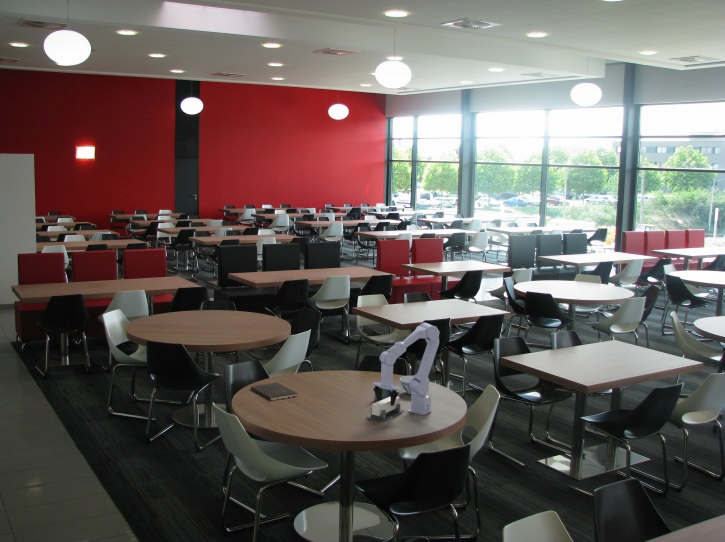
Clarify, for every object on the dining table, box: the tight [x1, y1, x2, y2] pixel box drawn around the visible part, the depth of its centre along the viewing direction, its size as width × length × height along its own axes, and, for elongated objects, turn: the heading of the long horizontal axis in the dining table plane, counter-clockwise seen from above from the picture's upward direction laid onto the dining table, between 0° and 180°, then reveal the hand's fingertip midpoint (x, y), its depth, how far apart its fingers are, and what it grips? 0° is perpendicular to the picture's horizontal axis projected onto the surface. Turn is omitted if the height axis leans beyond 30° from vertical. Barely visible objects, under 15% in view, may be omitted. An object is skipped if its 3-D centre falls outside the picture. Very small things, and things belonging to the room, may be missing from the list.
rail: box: [371, 396, 401, 416], centre depth 355 cm, size 4×18×5 cm, turn 145°
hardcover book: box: [250, 382, 299, 402], centre depth 387 cm, size 16×23×2 cm
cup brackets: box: [366, 402, 405, 423], centre depth 355 cm, size 8×20×5 cm, turn 145°
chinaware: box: [399, 375, 414, 395], centre depth 393 cm, size 15×15×8 cm
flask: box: [373, 389, 392, 401], centre depth 378 cm, size 9×3×11 cm, turn 65°
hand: (385, 403), depth 354 cm, fingers open, 7 cm apart
